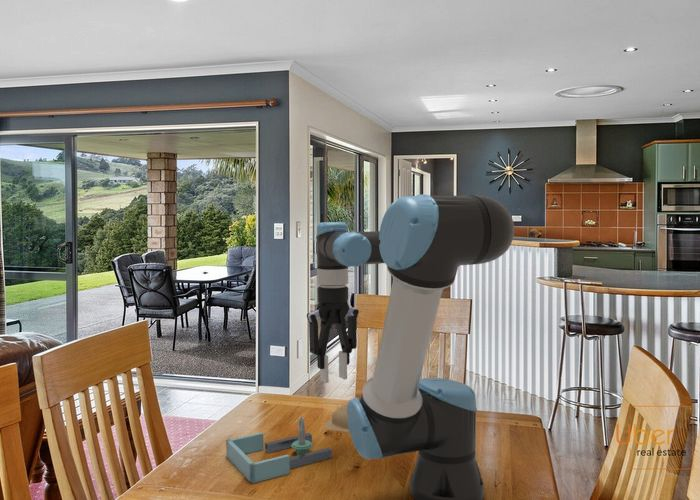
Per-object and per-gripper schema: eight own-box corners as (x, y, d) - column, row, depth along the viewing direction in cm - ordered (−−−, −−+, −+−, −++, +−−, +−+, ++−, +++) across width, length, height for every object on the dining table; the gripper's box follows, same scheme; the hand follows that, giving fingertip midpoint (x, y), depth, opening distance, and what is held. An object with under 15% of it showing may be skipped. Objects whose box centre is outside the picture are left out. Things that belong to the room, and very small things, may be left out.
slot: (332, 457, 138) (332, 449, 137) (285, 470, 131) (285, 461, 131) (309, 440, 148) (309, 432, 148) (265, 451, 142) (265, 443, 142)
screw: (316, 451, 141) (304, 459, 137) (299, 447, 144) (287, 455, 139) (316, 415, 140) (303, 422, 136) (299, 411, 143) (286, 418, 139)
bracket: (289, 473, 130) (289, 456, 129) (251, 483, 125) (250, 465, 125) (262, 448, 143) (261, 432, 143) (226, 456, 139) (226, 440, 138)
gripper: (355, 281, 149) (356, 370, 151) (293, 286, 140) (294, 381, 142) (371, 284, 143) (372, 377, 145) (307, 290, 134) (308, 389, 136)
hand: (333, 379), depth 143 cm, fingers open, 4 cm apart
